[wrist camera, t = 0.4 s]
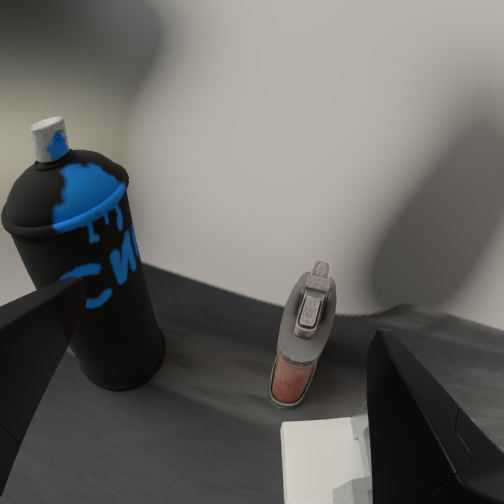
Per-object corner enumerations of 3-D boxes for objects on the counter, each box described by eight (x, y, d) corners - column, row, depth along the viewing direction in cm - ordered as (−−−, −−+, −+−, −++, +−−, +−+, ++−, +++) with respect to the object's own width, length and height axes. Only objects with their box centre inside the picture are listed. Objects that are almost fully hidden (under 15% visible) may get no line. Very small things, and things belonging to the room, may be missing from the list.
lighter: (287, 327, 29) (303, 240, 23) (322, 336, 28) (349, 251, 22) (260, 402, 23) (271, 326, 17) (302, 414, 23) (333, 343, 16)
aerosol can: (63, 364, 24) (-41, 153, 11) (112, 304, 30) (59, 101, 17) (134, 408, 22) (23, 162, 9) (182, 334, 28) (150, 99, 15)
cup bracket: (439, 557, 11) (481, 552, 8) (335, 588, 10) (361, 599, 7) (411, 408, 21) (442, 377, 18) (320, 421, 21) (338, 391, 17)
